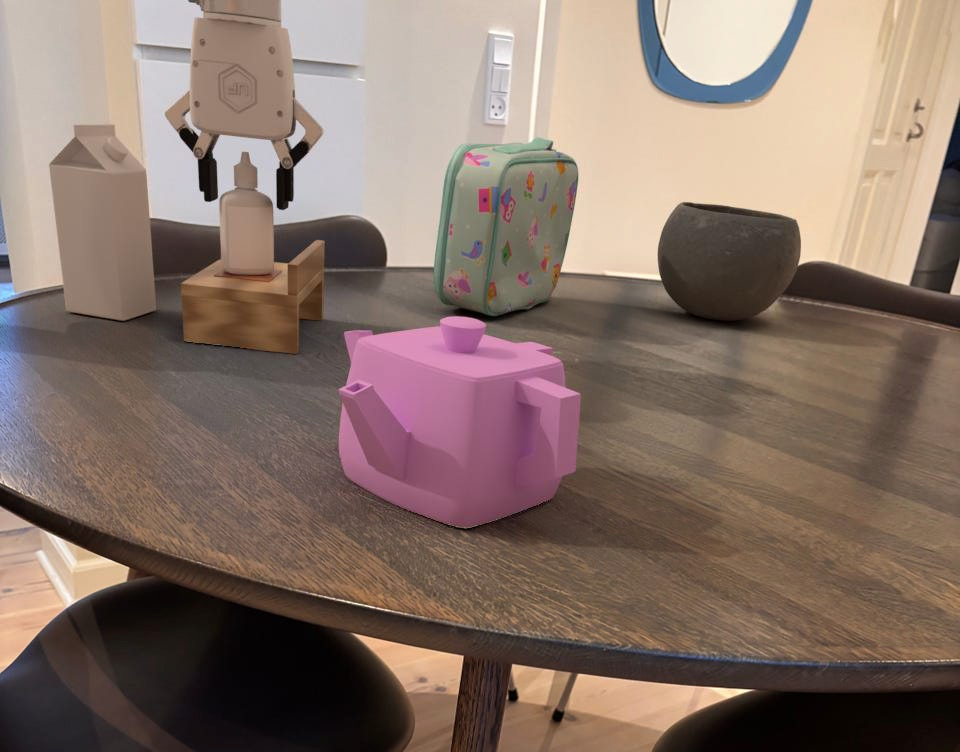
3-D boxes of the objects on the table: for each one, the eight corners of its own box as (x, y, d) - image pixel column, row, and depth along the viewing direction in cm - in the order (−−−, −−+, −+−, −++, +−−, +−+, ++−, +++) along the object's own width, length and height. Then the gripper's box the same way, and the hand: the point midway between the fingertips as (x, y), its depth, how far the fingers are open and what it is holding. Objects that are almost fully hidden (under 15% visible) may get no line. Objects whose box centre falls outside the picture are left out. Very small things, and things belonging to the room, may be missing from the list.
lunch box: (505, 288, 146) (522, 132, 135) (566, 299, 142) (589, 141, 131) (422, 312, 124) (434, 130, 113) (492, 326, 121) (511, 140, 110)
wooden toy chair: (183, 342, 99) (178, 252, 95) (225, 308, 115) (222, 229, 110) (297, 354, 100) (297, 264, 95) (323, 318, 115) (324, 240, 111)
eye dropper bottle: (271, 278, 102) (269, 156, 96) (218, 273, 102) (214, 150, 96) (276, 271, 106) (275, 153, 100) (225, 266, 106) (221, 147, 99)
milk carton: (65, 313, 105) (42, 120, 95) (102, 302, 111) (84, 120, 101) (123, 322, 104) (105, 129, 94) (157, 311, 110) (143, 128, 100)
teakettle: (574, 539, 65) (604, 360, 59) (327, 524, 63) (331, 338, 57) (543, 455, 79) (564, 304, 73) (341, 441, 77) (345, 285, 71)
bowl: (790, 340, 133) (820, 226, 125) (646, 320, 134) (667, 207, 127) (774, 313, 150) (799, 212, 143) (647, 296, 152) (665, 195, 144)
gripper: (140, -8, 88) (154, 199, 97) (325, 14, 89) (322, 217, 98) (164, -1, 94) (176, 192, 103) (336, 19, 95) (332, 209, 104)
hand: (247, 203), depth 100 cm, fingers open, 7 cm apart
